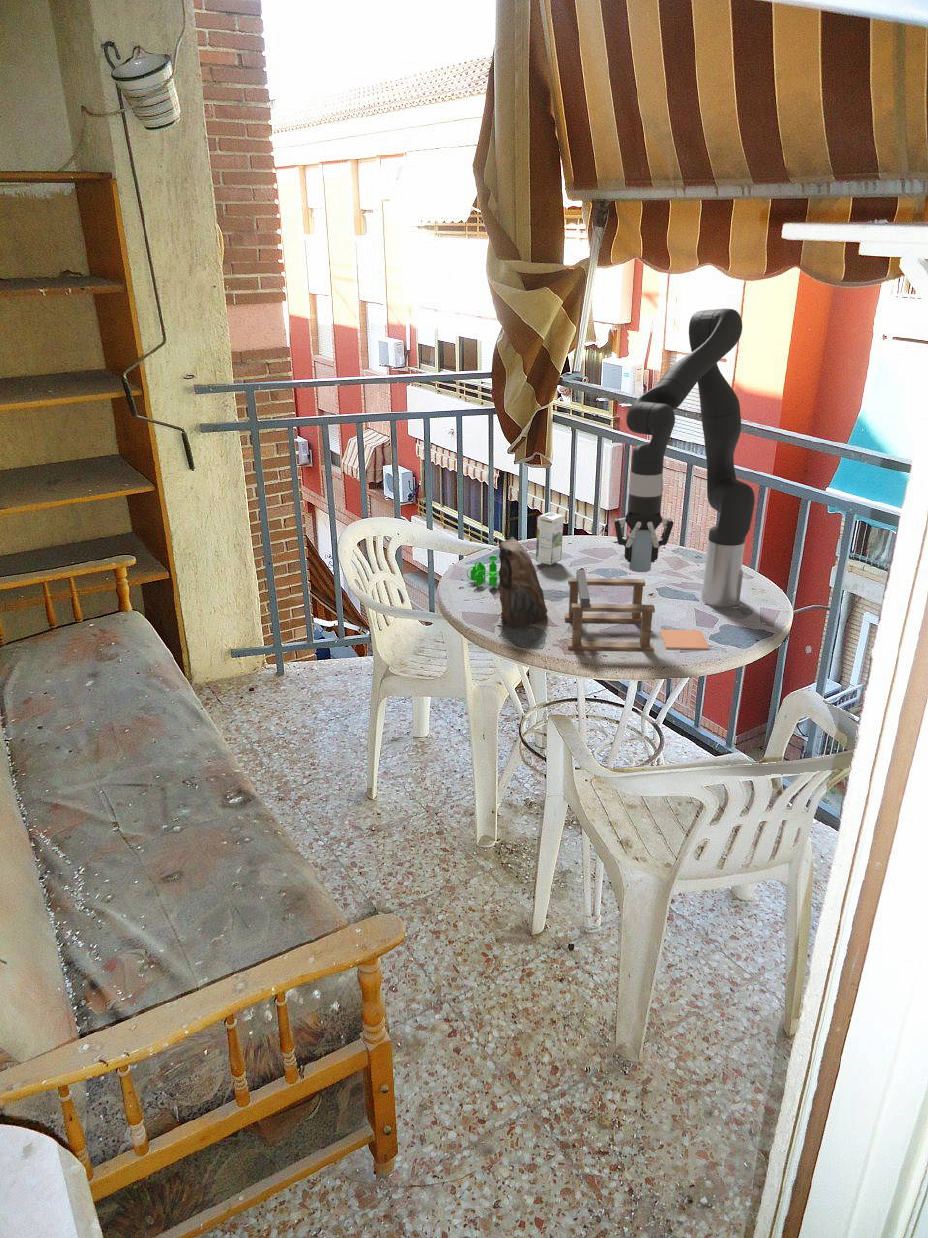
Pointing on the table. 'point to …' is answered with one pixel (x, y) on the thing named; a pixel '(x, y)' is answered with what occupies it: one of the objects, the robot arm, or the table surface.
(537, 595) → the brown pointed rock
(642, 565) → the grey-blue cylinder
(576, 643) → the gantry
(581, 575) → the bar
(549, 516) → the syrup box
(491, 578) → the chandelier
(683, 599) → the table surface
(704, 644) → the terracotta tile
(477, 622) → the table surface
